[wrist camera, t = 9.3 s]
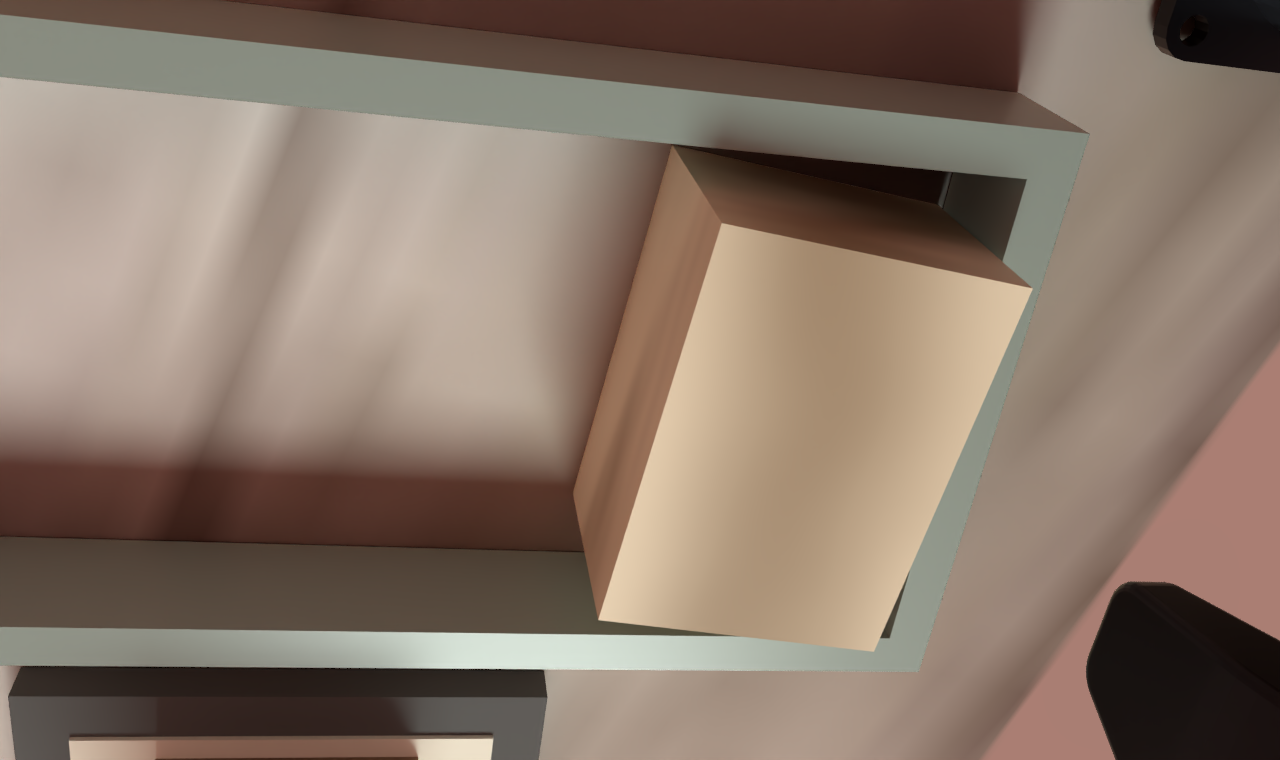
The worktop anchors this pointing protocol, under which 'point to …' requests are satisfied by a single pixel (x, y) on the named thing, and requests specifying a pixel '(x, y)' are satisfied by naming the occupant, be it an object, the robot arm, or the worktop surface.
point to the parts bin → (525, 99)
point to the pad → (276, 713)
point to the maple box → (785, 403)
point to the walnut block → (315, 759)
